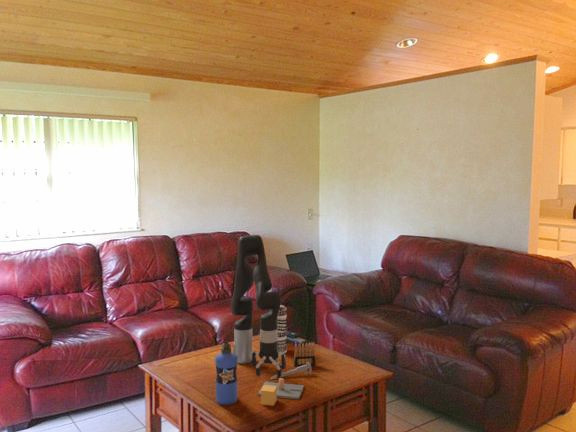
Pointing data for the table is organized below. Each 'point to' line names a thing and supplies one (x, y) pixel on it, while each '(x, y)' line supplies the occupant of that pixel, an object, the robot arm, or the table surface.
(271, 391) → the mustard yellow cube
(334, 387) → the table surface
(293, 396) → the post board
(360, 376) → the table surface
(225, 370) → the water bottle
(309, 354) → the ammunition clip
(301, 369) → the caliper
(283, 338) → the decorative candle
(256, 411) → the table surface
